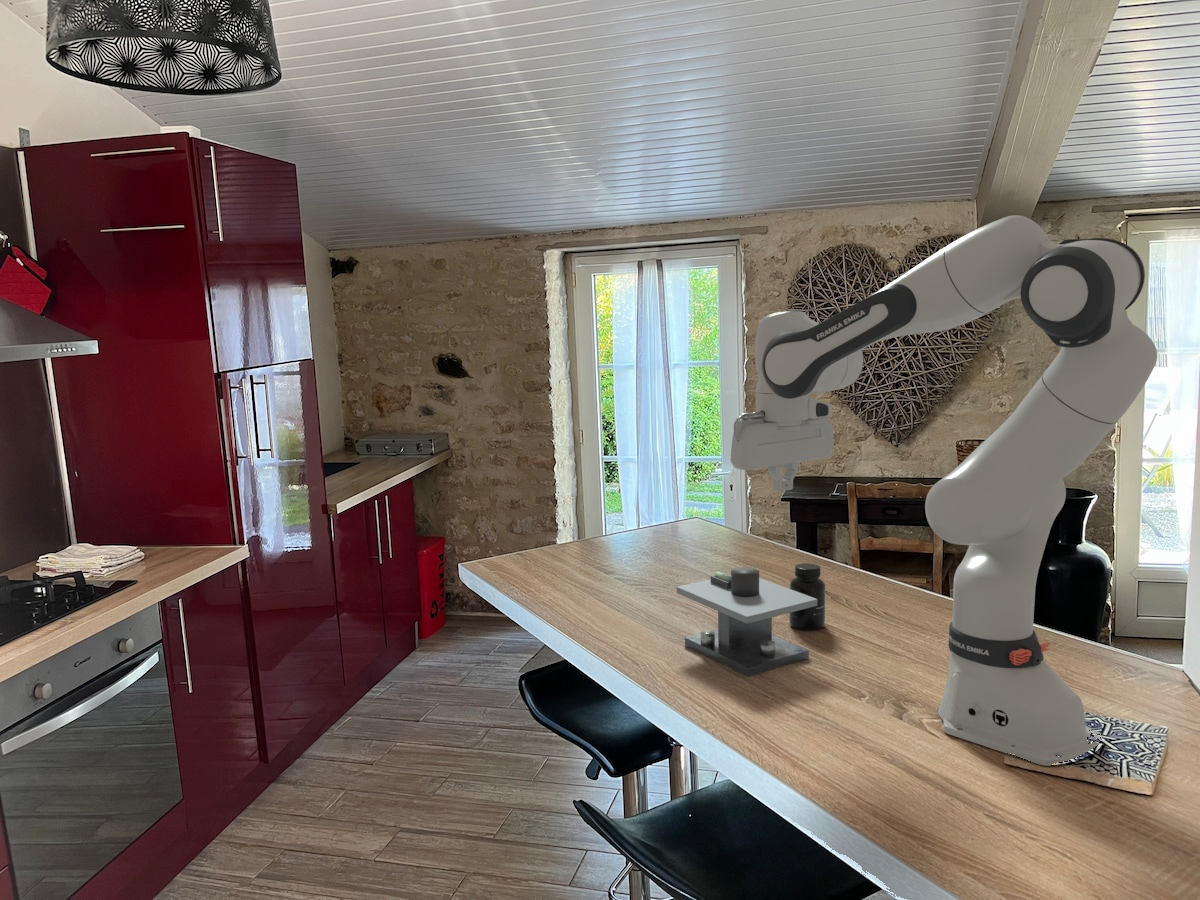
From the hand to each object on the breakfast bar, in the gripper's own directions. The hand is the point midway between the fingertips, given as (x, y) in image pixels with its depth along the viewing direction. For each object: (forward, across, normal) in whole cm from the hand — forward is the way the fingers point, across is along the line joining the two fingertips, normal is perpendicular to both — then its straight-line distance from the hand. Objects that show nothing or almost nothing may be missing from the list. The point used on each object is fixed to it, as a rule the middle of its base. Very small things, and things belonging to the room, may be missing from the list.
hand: (783, 490), depth 158 cm
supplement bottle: (+31, +18, +13) cm, 38 cm away
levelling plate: (+21, -1, +9) cm, 23 cm away
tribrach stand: (+31, -1, +9) cm, 33 cm away
